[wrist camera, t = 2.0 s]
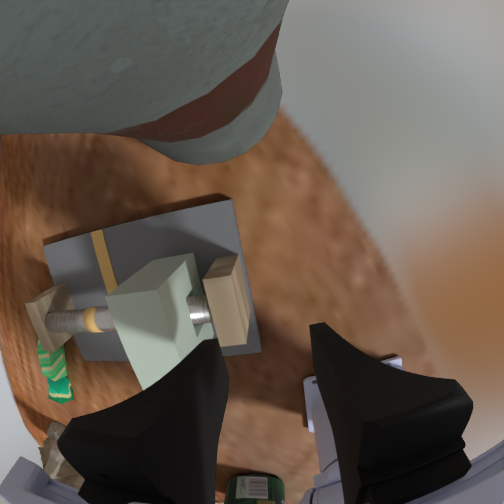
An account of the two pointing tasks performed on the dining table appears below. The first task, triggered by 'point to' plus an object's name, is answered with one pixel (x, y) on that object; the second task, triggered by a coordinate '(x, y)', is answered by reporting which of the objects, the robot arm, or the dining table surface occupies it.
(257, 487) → the coffee jar
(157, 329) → the grey square nut
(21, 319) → the dining table surface
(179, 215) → the pipe rig
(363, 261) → the dining table surface
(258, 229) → the dining table surface
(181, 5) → the bottle
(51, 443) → the jagged grey rock
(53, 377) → the candy
